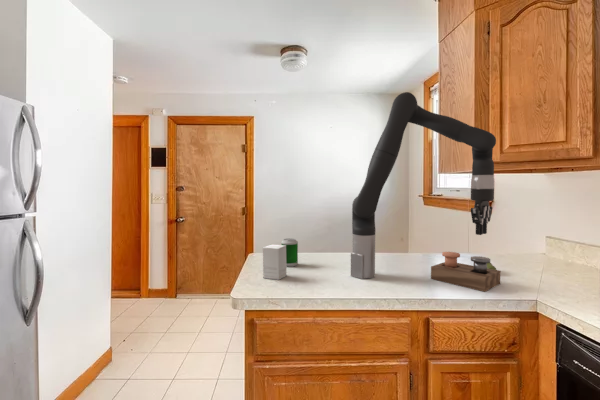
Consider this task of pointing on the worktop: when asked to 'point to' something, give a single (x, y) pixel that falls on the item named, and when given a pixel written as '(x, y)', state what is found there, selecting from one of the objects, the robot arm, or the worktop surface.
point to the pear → (490, 266)
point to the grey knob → (480, 264)
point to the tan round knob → (451, 259)
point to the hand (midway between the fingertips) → (481, 233)
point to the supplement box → (274, 261)
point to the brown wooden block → (466, 276)
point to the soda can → (291, 251)
